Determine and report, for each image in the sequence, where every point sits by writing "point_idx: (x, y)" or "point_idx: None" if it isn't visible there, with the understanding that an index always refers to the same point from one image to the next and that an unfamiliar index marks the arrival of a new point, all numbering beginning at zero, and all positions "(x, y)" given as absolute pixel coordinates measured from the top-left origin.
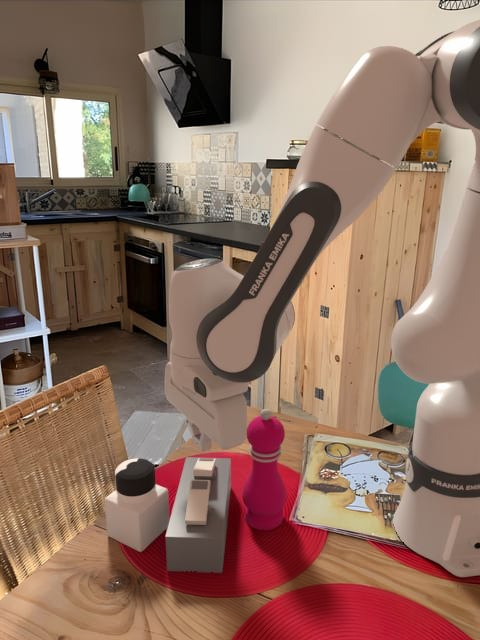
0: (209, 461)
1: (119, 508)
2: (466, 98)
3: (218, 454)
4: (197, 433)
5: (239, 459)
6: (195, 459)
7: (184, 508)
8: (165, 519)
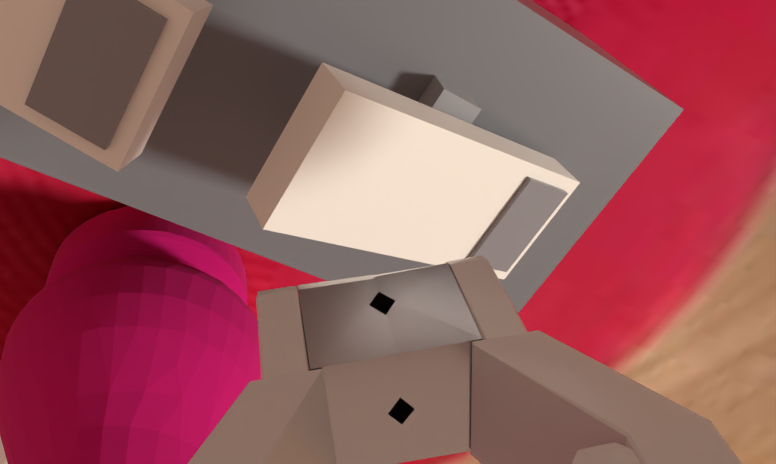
0: (471, 238)
1: None
2: None
3: (697, 264)
4: (481, 391)
5: (600, 330)
6: (619, 157)
7: None
8: None
